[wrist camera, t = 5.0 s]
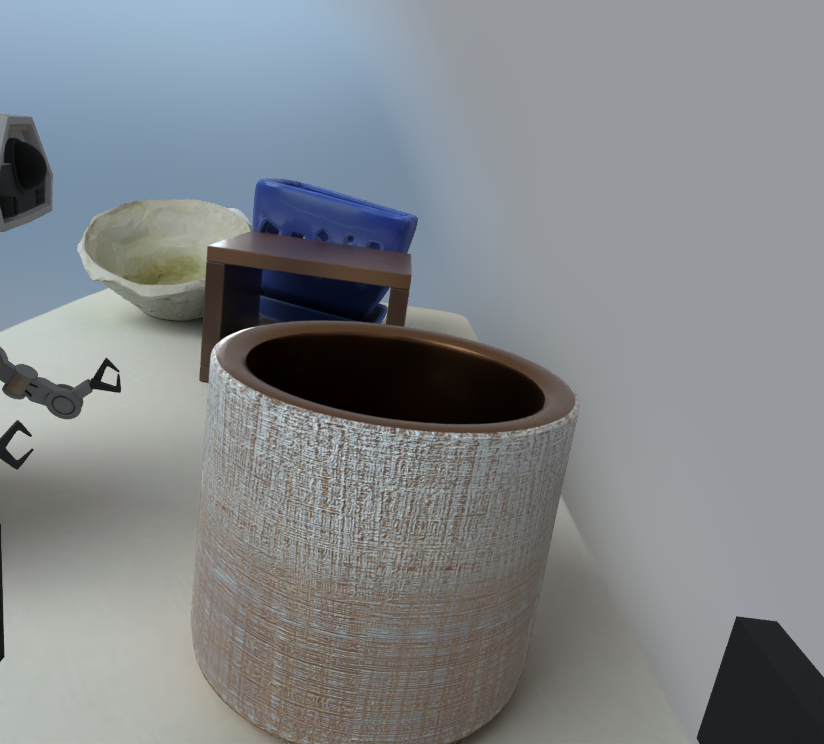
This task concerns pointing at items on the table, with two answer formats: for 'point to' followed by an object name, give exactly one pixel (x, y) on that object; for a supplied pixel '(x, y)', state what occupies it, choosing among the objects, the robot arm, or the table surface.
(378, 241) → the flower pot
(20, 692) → the table surface
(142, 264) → the bowl
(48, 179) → the figurine
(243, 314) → the shelf
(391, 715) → the planter
